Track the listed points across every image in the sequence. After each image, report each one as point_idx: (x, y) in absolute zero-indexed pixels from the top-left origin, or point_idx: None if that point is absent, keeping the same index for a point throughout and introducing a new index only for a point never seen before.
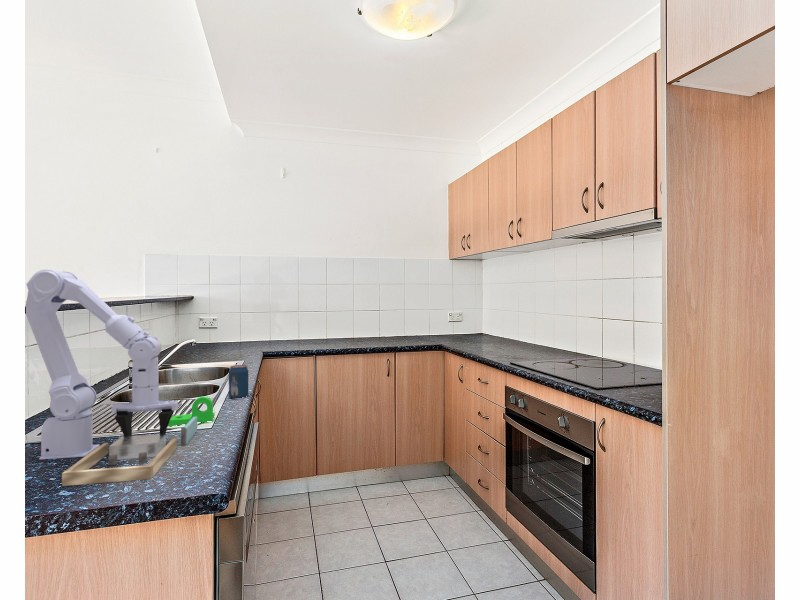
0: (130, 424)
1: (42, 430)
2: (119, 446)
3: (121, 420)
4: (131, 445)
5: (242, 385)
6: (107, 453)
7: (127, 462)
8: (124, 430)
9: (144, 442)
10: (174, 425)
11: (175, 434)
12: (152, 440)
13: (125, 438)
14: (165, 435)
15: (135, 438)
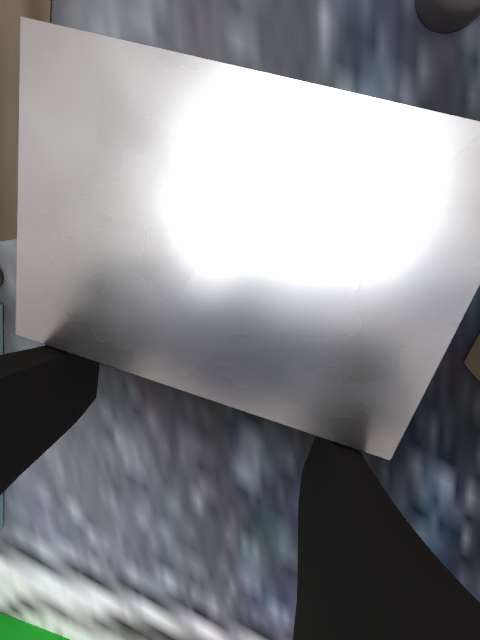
0: (305, 604)
1: None
2: (422, 110)
3: (453, 630)
4: (287, 83)
5: None
6: (475, 347)
7: (327, 9)
8: (368, 493)
9: (154, 110)
10: None
11: (81, 527)
12: (88, 160)
13: (351, 380)
14: (21, 314)
15: (257, 328)
